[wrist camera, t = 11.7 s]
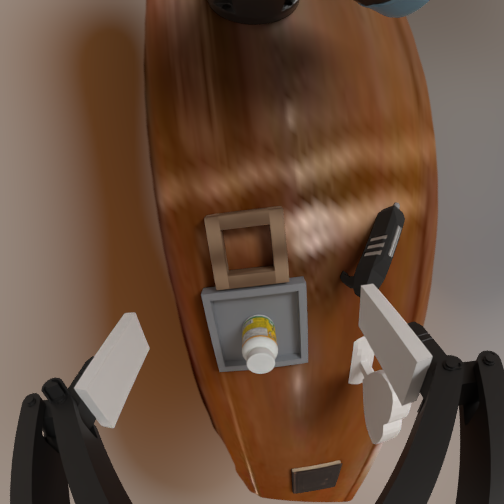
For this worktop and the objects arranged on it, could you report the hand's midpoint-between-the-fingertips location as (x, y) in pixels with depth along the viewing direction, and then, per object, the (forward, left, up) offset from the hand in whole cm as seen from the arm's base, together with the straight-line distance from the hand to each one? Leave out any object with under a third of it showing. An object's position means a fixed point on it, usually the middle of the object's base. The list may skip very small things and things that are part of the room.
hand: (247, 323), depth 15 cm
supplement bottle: (+17, 0, -26) cm, 31 cm away
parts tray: (+17, 0, -27) cm, 32 cm away
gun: (+5, +19, -27) cm, 33 cm away
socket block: (+3, 0, -27) cm, 27 cm away
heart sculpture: (+30, +20, -27) cm, 45 cm away
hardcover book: (+87, +12, -28) cm, 92 cm away
